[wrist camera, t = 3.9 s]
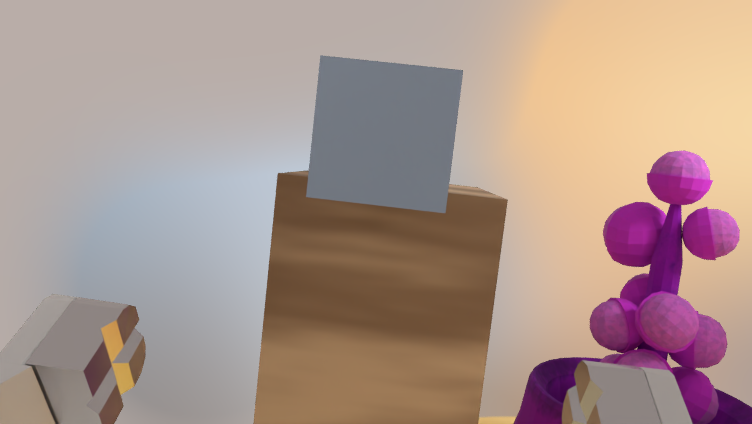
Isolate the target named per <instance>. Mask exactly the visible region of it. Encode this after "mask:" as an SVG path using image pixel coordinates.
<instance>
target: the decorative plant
mask: <svg viewBox="0 0 752 424" xmlns="http://www.w3.org/2000/svg"><path fill="white" fill-rule="evenodd" d="M712 182H713V181H712V180H710V172H709V169H708V167H707V165H706V163H705V161H704V160H703V159H702V158H701V157H700V156H698V155H696V154H694V153H691V152H687V151H674V152H668V153H666V154H665V155H663V156H662V157H660V158H659V159H658V160H657V161H656V162H655V163H654V164H653V166H652V169H651V171H650V173H647V183H648V185H649V187H650V189H651V191H652V192H653V194H654V195H655V196H656V197H657V198H658V199H659V200H661V201H664V202H666V203H669V204H670V207H669V210H668V213H667V216H666V215H665V213H664V212H663V211H662V210H660V209H659V208H658V207H656V206H654V205H652V204H650V203H645V202H635V203H632V204H629V205H625V206H623V207H620V208H618V209H617V210H615V211H614V212H613V213H612V214H611V215H610V216H609V217H608V219H607V220H606V222H605V225H604V230H603V236H604V241H605V245H606V247H607V250H608V252H609V254H610V255H611V257H612V259H613V260H614V261H616V262H619V263H620V264H622V265H627V266H633V267H644V266H647V265H649V264H651V265H650V271H649V274H640V275H637V276H635V277H633V278H632V279H631V280H629V281H628V282H627V283H626V285H625V286H624V287H623V289H622V291H621V294H620V298H610V299H609V300H608V301H607V302H603V303H601V304H600V305H599V306H598V307H596V308H595V309H594V310H593V312H592V315H591V317H590V330H591V333H592V335H593V337H594V339H595V340H596V341H597V342H598V343H599V344H600V345H601V346H603V347H605V348H607V349H610V350H616V351H617V352H620V353H624V354H612V355H608V356H606V357H604V358H603V359H598V358H578V357H576V358H575V357H573V358H559V359H553V360H549V361H546V362H543V363H541V364H539V365H538V366H536V367H535V368H534V369H533V371H532V372H531V374H530V376H529V379H528V383H527V386H526V390H525V394H524V397H523V401H522V405H521V408H520V411H519V413H518V415H517V417H516V419H515V421H514V424H562V411H563V403H564V400H565V397H566V394H567V391H568V390H569V389H570V388H572V387H574V386H575V385H576V382H575V376H574V373H575V370H576V368H577V365H578V364H579V363H580V362H581V361H582V360H585V361H594V362H603V363H612V364H621V365H630V366H637V367H645V368H653V369H662V370H669V371H670V372H671V373H672V374H673V375H674V376H675V379H676V382H677V384H678V387H679V389H680V392H681V395H682V397H683V400H684V402H685V405H686V408H687V410H688V413H689V415H690V418H691V421H692V423H693V424H752V407H750V406H749V405H747V404H745V403H743V402H742V401H740V400H738V399H737V398H734V397H732V396H730V395H728V394H726V393H724V392H722V391H720V390H717V389H715V388H714V386H713V385H712V384H711V383H710V380H709V378H708V377H707V376H705V375H704V374H703V373H702V372H700V371H697V370H695V369H696V368H702V367H703V368H708V367H710V366H713V365H716V364H718V363H719V362H720V360H721V359H722V358H723V357H724V355H725V352H726V348H727V339H726V333H725V331H724V329H723V328H722V326H721V324H720V323H719V322H717V321H716V320H714V319H713V318H711V317H709V316H705V315H701V314H698V311H695V310H694V308H693V307H692V306H691V305H690V303H689V302H688V301H686V300H684V299H683V298H681V297H679V296H678V295H677V294H678V288H679V282H680V276H681V269H682V238H683V241H684V244H685V246H686V248H687V249H688V250H689V251H690V252H691V253H692V254H693V255H695V256H697V257H700V258H702V259H706V260H716V259H715V258H717V257H721V256H724V255H727V254H728V253H729V252H731V251H732V250H734V249H735V247H736V245H737V243H738V241H739V228H738V226H737V223H736V221H735V220H734V219H733V218H732V217H731V216H730V215H729V214H728V213H727V212H724V211H721V210H718V209H707V207H705V208H702V209H698V210H696V211H694V212H693V213H691V214H690V215H689V216H688V217H687V219H686V220H685V222H684V224H683V227H682V225H681V224H682V223H681V222H682V221H681V205H687V204H692V203H694V202H696V201H698V200H700V199H701V198H702V197H703V196H704V195H705V194H706V193H707V192H708V191H709V189H710V186H711V184H712ZM637 347H638V348H637ZM636 348H637V350H634V349H636ZM625 352H626V353H625ZM668 353H669V355H670V357H671V359H673V360H674V361H676V362H677V363H678V364H679V365H681V366H682V367H674V368H671V367H670V366H669V364H668V363H667V356H668Z"/></svg>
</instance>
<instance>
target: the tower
mask: <svg viewBox="0 0 752 424" xmlns="http://www.w3.org/2000/svg"><path fill="white" fill-rule="evenodd" d="M308 174H309V171H299V172H287V173H278V178H277V187H276V198H275V208H274V218H273V228H272V239H271V249H270V260H269V270H268V280H267V291H266V302H265V311H264V321H263V332H262V342H261V352H260V363H259V373H258V384H257V393H256V404H255V414H254V424H478V419H479V411H480V403H481V396H482V388H483V381H484V373H485V366H486V359H487V351H488V343H489V336H490V329H491V321H492V314H493V305H494V298H495V291H496V283H497V275H498V268H499V260H500V253H501V245H502V238H503V231H504V223H505V216H506V208H507V201H508V200H507V199H504V198H502V197H500V196H497V195H495V194H492V193H490V192H487V191H485V190H482V189H480V188H478V187H469V186H460V185H452V184H449V189H448V197H447V205H446V213H439V212H430V211H421V210H413V209H404V208H396V207H387V206H379V205H370V204H362V203H353V202H345V201H336V200H328V199H319V198H310V197H306V193H307V184H308Z"/></svg>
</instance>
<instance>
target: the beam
mask: <svg viewBox="0 0 752 424" xmlns="http://www.w3.org/2000/svg"><path fill="white" fill-rule="evenodd" d="M462 75H463V70H455V69H445V68H436V67H426V66H416V65H406V64H397V63H388V62H378V61H368V60H359V59H350V58H340V57H330V56H320V66H319V76H318V86H317V95H316V106H315V115H314V125H313V134H312V144H311V154H310V164H309V174H308V184H307V193H306V197H310V198H319V199H328V200H336V201H345V202H353V203H362V204H370V205H379V206H387V207H396V208H404V209H413V210H421V211H430V212H439V213H446V205H447V197H448V189H449V180H450V173H451V164H452V156H453V148H454V140H455V131H456V124H457V116H458V107H459V100H460V92H461V84H462Z"/></svg>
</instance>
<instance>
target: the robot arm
mask: <svg viewBox="0 0 752 424" xmlns="http://www.w3.org/2000/svg"><path fill="white" fill-rule="evenodd" d="M138 321H139V317H138V314H137V310H136V307H134V306H131V305H126V304H120V303H113V302H106V301H99V300H93V299H86V298H80V297H79V298H77V297H70V296H64V295H56V294H52V295H51V296H49V297H47V298H45V299H44V300H43V301H42V302H41V304H40V305H39V306H38V307H37V308H36V310H35V311H34V312H33V313H32V315H31V316H30V317H29V318H28V319H27V321H26V322H25V323H24V324H23V326H22V327H21V328H20V329H19V330H18V332H17V333H16V334H15V335H14V337H13V338H12V339H11V340H10V342H9V343H8V344H7V345H6V346H5V348H4V349H3V350H2V351H1V353H0V424H114V423H115V421H116V419H117V417H118V415H119V413H120V412H121V410H122V408H123V403H122V398H121V394H123V393H124V392H126V391H128V390H129V389H131V388H132V387H134V386H135V384H136V382H137V380H138V378H139V376H140V374H141V371H142V368H143V364H144V360H145V342H144V337H143V336H142V335H141V334H140V333H139V332H138V331H137V330H136V329H135V326H136V324H137V323H138ZM574 376H575V382H576V385H575V386H574V387H572V388H570V389H569V390H568V391H567V394H566V397H565V400H564V403H563V411H562V424H693V423H692V421H691V418H690V415H689V413H688V410H687V408H686V405H685V402H684V400H683V397H682V395H681V392H680V389H679V387H678V384H677V382H676V379H675V376H674V375H673V374H672V373H671V372H670V371H669V370H662V369H653V368H645V367H637V366H630V365H621V364H612V363H603V362H594V361H585V360H582V361H581V362H580V363H579V364H578V365H577V368H576V370H575V373H574Z"/></svg>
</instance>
